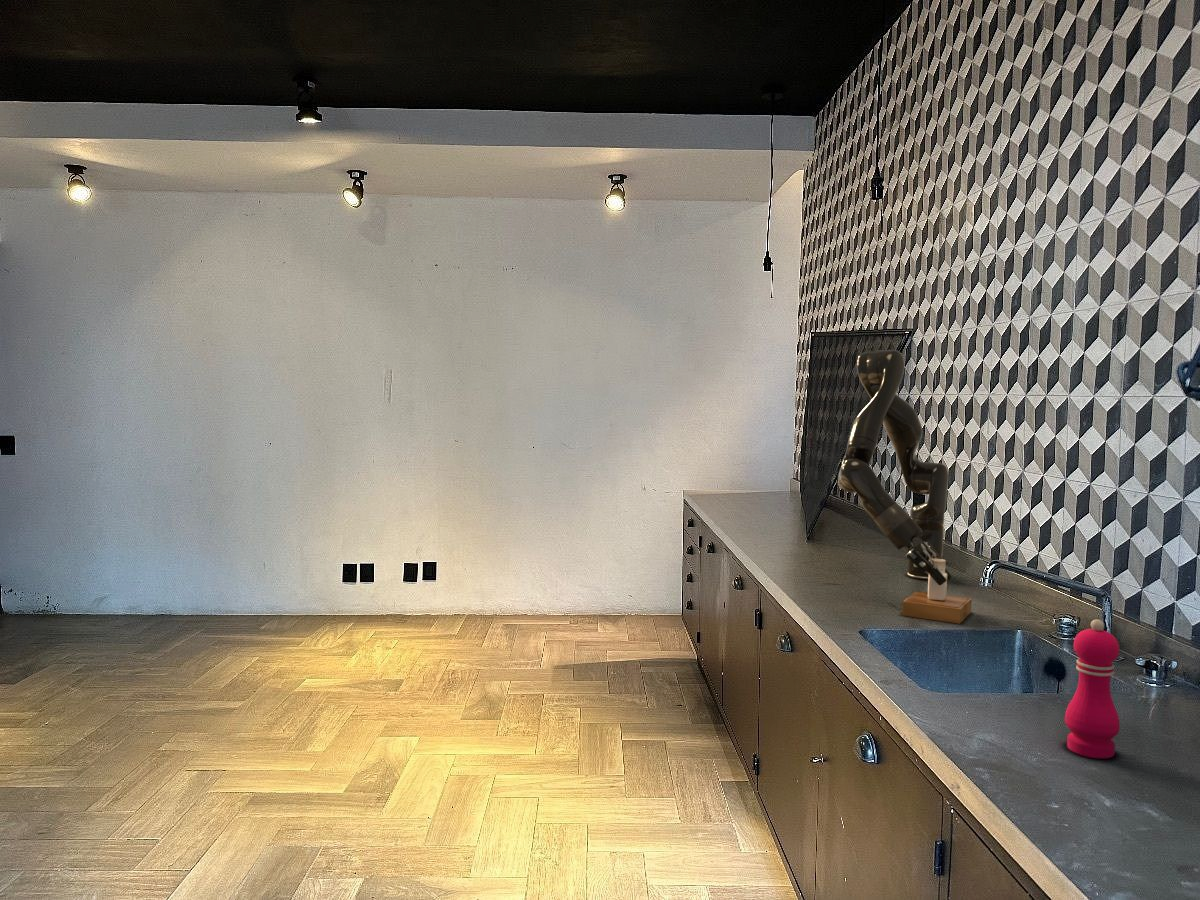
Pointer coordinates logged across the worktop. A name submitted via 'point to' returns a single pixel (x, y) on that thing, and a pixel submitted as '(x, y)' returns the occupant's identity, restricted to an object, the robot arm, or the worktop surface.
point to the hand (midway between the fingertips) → (946, 581)
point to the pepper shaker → (933, 588)
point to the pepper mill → (1093, 695)
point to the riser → (937, 608)
